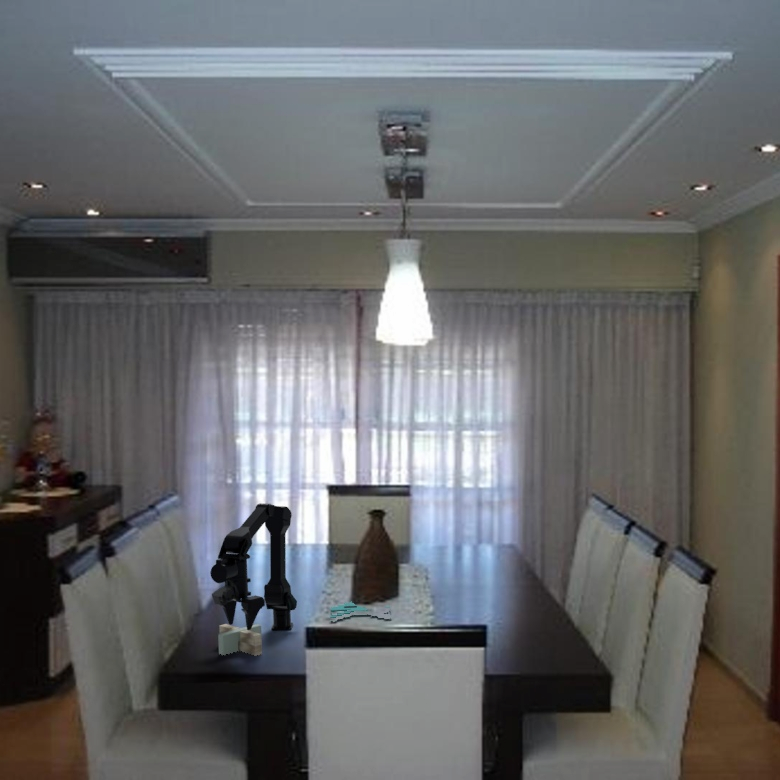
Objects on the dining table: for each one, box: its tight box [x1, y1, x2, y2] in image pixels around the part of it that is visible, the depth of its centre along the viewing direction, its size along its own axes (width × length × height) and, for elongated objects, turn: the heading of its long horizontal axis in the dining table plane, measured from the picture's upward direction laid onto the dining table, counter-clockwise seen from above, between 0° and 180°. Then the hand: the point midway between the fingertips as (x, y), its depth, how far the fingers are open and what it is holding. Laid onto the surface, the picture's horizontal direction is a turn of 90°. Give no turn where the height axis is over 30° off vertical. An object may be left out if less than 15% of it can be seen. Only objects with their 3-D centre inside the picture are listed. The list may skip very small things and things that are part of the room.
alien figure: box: [329, 600, 392, 619], centre depth 331 cm, size 20×2×20 cm
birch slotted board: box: [218, 623, 263, 657], centre depth 293 cm, size 18×2×6 cm, turn 45°
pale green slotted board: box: [217, 623, 262, 656], centre depth 293 cm, size 14×2×6 cm, turn 134°
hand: (239, 627), depth 293 cm, fingers open, 9 cm apart
